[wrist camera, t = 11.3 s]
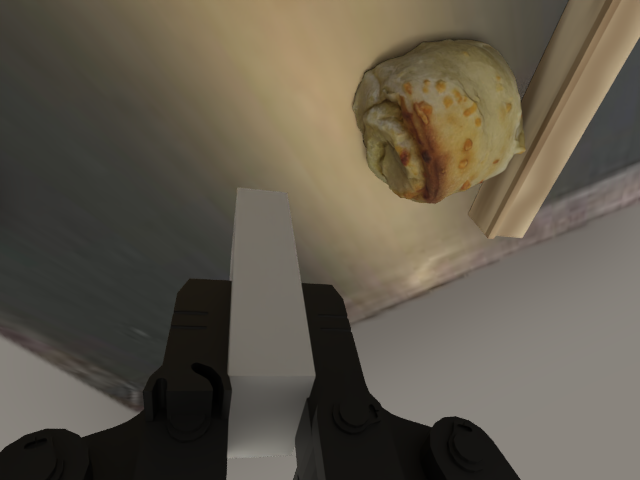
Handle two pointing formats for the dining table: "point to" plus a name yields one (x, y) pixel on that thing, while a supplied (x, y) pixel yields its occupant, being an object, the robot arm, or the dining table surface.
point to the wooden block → (558, 109)
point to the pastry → (440, 118)
